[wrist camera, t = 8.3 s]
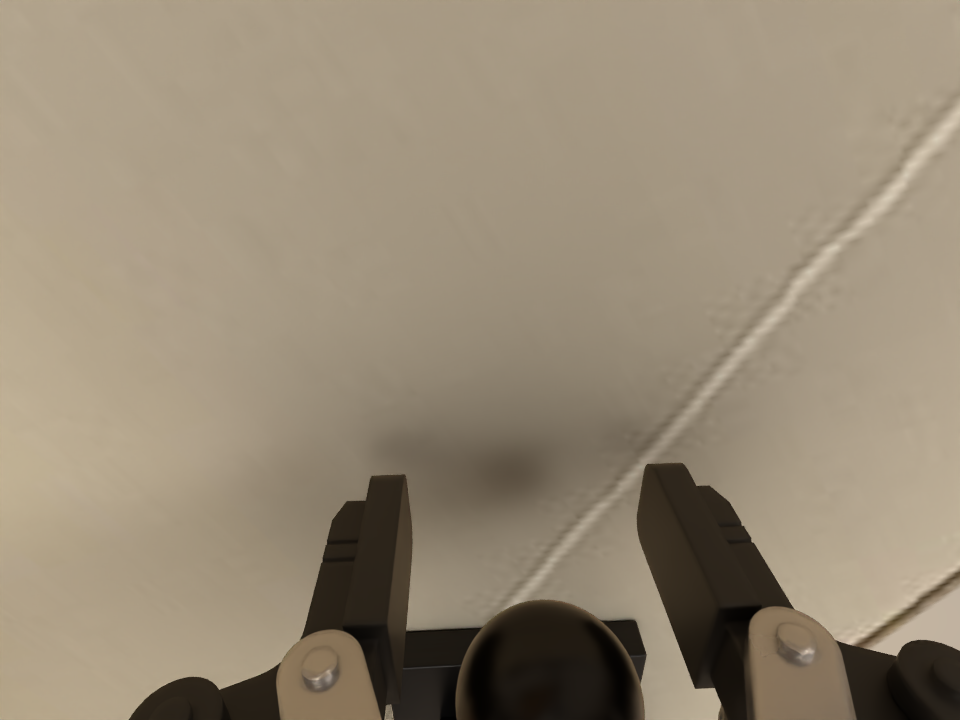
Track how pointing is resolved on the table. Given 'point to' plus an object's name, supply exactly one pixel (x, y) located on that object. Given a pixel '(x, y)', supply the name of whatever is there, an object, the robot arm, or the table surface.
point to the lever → (547, 668)
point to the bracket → (438, 661)
